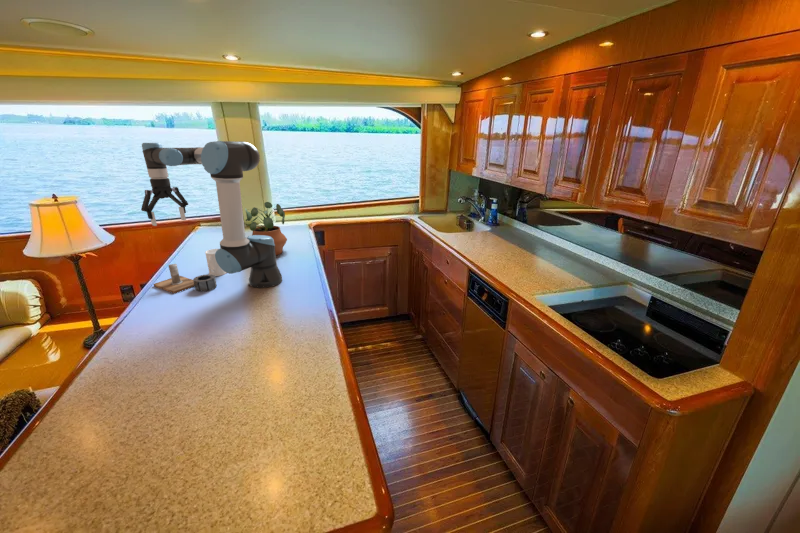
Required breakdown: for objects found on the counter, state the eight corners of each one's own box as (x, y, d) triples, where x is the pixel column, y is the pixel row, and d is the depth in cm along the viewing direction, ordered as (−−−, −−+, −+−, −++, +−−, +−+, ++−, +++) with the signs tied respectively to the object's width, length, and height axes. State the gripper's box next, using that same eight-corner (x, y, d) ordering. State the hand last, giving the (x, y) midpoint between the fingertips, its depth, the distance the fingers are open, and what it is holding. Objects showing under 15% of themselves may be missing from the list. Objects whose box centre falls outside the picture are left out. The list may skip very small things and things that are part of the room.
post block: (200, 284, 159) (196, 264, 156) (174, 293, 149) (169, 272, 146) (180, 277, 166) (175, 258, 162) (154, 286, 156) (148, 265, 152)
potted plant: (291, 255, 200) (286, 206, 190) (240, 262, 188) (231, 209, 178) (285, 245, 219) (280, 199, 209) (238, 250, 207) (230, 202, 197)
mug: (218, 279, 166) (213, 256, 161) (201, 278, 166) (196, 255, 162) (230, 270, 177) (227, 248, 172) (215, 269, 177) (211, 248, 173)
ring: (220, 286, 157) (218, 276, 156) (203, 293, 150) (201, 282, 149) (208, 282, 161) (207, 273, 159) (191, 289, 154) (189, 279, 152)
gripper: (181, 175, 167) (190, 217, 175) (124, 179, 146) (136, 226, 154) (190, 176, 164) (199, 218, 171) (133, 180, 143) (145, 229, 151)
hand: (169, 222), depth 163 cm, fingers open, 13 cm apart
